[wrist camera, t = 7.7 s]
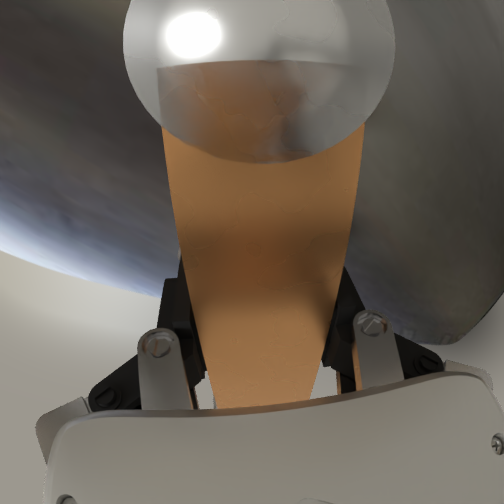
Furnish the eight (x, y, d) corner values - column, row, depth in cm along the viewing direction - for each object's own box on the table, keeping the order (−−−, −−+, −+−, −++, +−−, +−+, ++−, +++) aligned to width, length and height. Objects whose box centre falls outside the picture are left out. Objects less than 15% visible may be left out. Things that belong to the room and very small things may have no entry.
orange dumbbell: (330, -21, 6) (391, -54, 3) (293, 389, 19) (303, 441, 16) (160, -20, 6) (122, -62, 3) (217, 396, 19) (220, 450, 16)
